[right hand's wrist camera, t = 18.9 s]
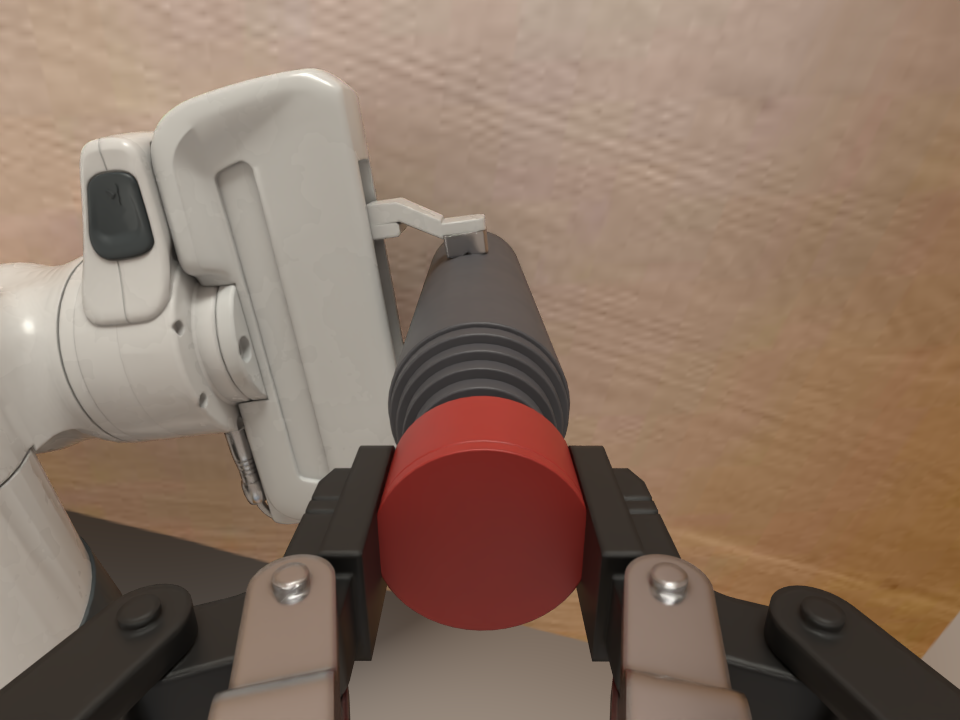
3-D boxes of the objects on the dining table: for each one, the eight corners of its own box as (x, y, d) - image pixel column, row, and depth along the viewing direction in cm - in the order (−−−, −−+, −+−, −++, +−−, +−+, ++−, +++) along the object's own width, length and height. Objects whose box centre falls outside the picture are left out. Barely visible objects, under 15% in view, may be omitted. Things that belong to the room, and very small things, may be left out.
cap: (486, 357, 11) (488, 404, 9) (611, 481, 12) (637, 550, 10) (352, 475, 12) (326, 542, 10) (478, 581, 13) (477, 663, 11)
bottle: (478, 336, 32) (490, 665, 12) (411, 279, 31) (296, 537, 11) (539, 272, 31) (669, 517, 11) (471, 210, 30) (472, 352, 9)
